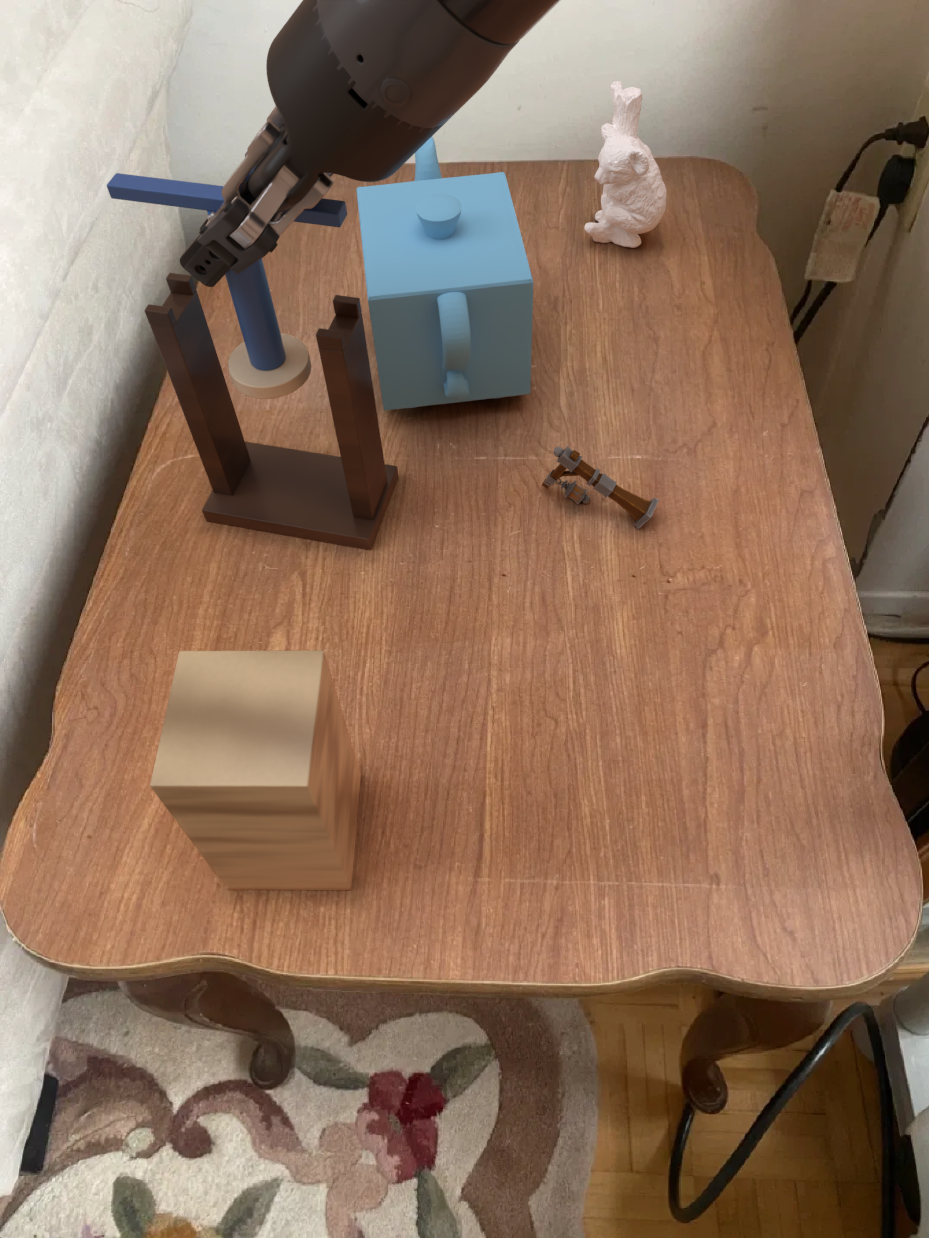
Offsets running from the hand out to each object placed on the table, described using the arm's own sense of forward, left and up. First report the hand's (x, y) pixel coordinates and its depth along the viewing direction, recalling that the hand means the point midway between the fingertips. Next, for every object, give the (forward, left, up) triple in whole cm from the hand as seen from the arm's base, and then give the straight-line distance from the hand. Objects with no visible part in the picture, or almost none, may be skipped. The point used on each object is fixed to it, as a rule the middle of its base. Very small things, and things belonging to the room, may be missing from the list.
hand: (206, 256), depth 53 cm
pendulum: (+1, -2, -8) cm, 8 cm away
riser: (-16, -21, -20) cm, 33 cm away
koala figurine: (+41, +1, -20) cm, 45 cm away
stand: (+1, -2, -20) cm, 20 cm away
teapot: (+20, +2, -20) cm, 28 cm away
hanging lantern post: (+15, -18, -20) cm, 31 cm away
